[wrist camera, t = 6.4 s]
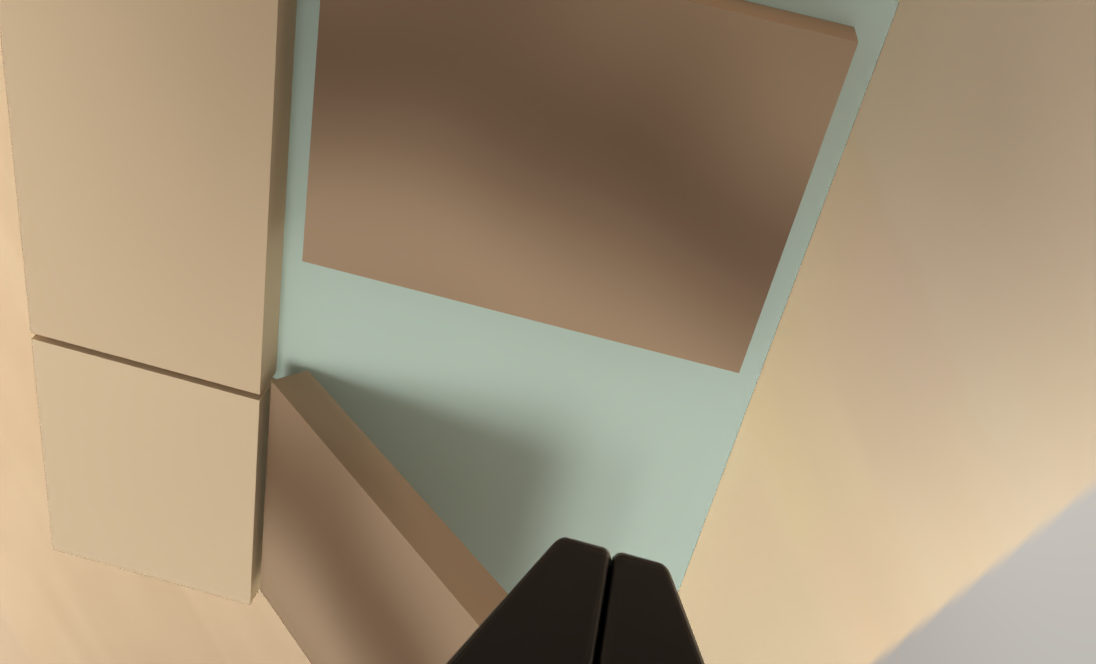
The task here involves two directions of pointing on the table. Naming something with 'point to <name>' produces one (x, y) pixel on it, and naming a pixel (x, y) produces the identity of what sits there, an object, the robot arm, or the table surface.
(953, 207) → the table surface
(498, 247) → the plank
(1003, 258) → the table surface
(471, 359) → the underlay base
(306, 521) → the plank
